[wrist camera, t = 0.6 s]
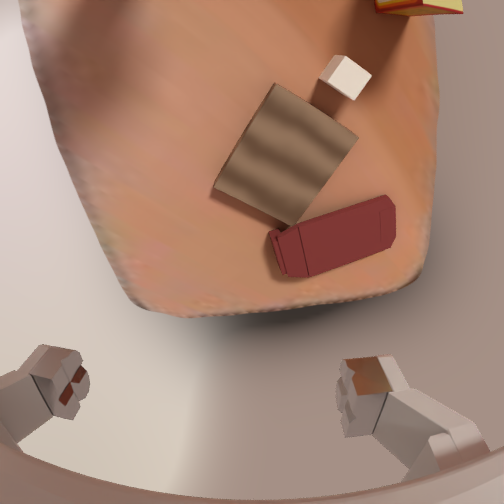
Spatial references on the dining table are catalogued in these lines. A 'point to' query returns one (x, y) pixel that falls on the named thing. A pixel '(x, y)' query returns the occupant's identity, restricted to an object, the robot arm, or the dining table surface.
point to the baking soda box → (418, 7)
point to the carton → (335, 238)
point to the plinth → (284, 156)
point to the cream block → (345, 76)
